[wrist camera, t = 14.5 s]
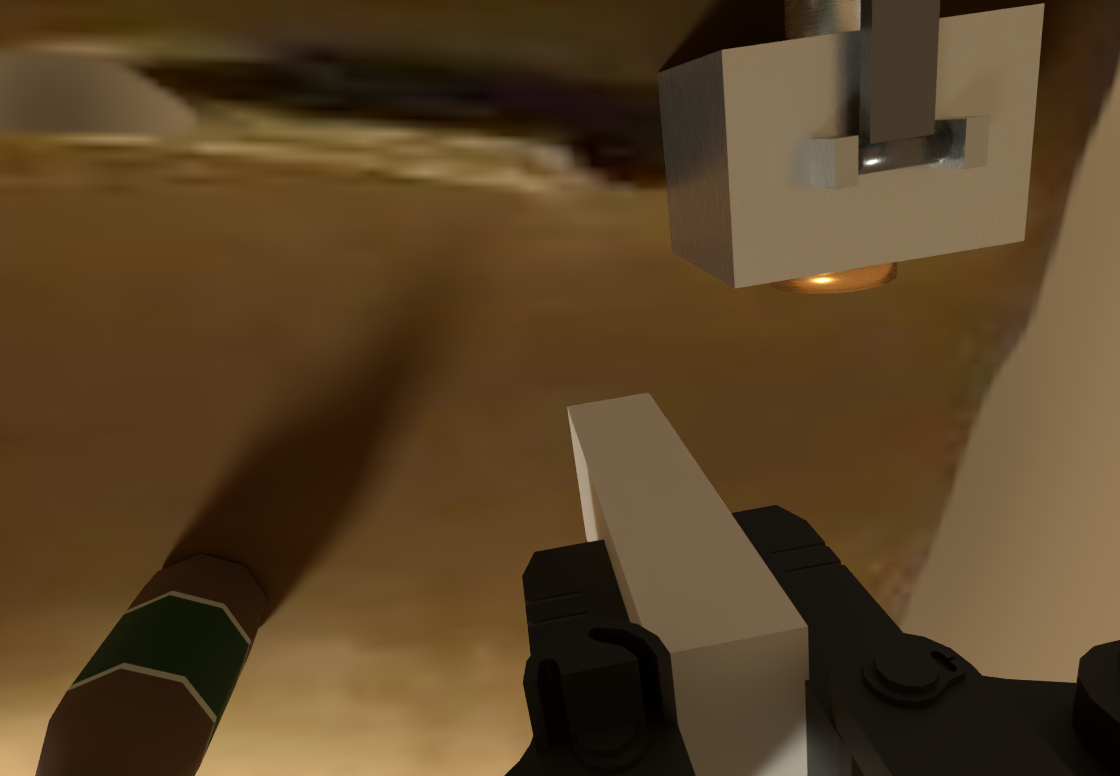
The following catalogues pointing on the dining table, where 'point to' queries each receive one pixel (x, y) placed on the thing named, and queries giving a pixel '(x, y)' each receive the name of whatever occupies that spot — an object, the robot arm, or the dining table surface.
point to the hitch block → (845, 154)
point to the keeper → (899, 86)
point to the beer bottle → (159, 676)
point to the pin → (813, 10)
